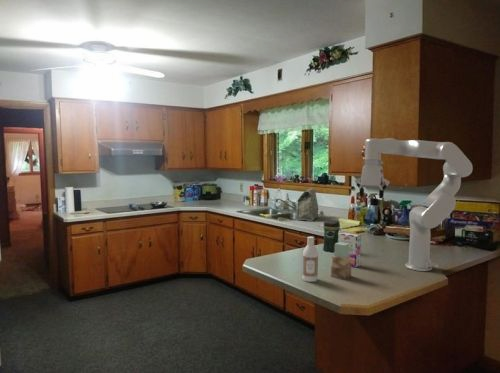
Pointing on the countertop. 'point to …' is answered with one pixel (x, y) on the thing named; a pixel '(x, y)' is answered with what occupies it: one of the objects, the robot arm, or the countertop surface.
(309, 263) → the bath foam
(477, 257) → the countertop surface
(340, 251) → the sage block
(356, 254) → the candy bar box
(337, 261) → the oak top
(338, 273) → the walnut base
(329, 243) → the coffee jar
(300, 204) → the bag
